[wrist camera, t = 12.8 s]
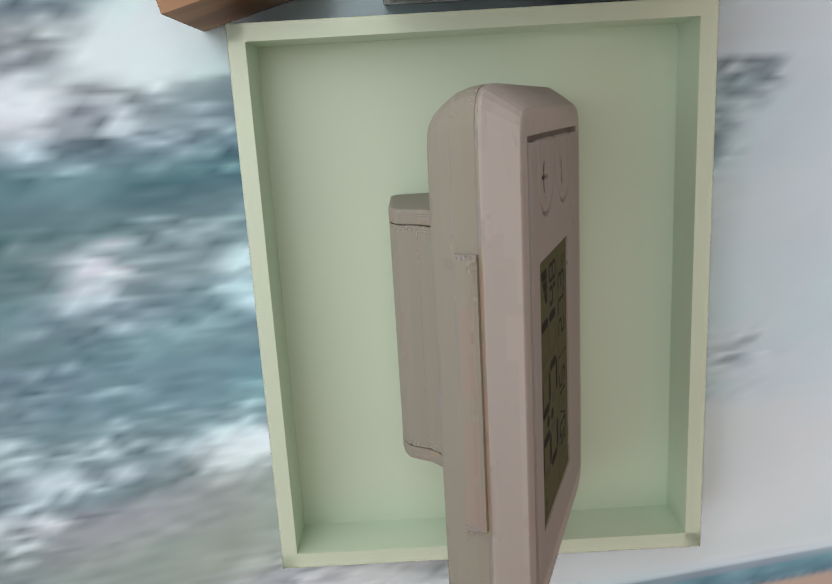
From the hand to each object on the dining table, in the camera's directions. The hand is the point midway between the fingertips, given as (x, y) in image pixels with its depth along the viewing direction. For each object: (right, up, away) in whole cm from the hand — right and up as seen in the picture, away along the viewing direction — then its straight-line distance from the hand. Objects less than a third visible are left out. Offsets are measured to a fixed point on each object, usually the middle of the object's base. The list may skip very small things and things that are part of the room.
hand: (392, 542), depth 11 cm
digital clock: (+4, +3, +19) cm, 20 cm away
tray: (+3, +4, +20) cm, 20 cm away
